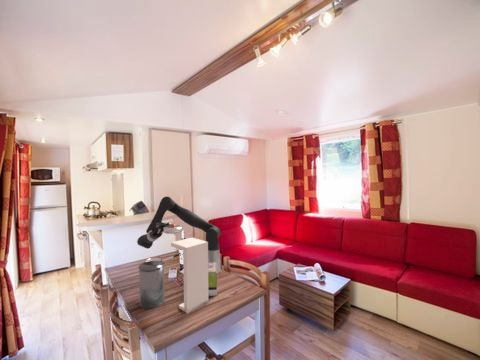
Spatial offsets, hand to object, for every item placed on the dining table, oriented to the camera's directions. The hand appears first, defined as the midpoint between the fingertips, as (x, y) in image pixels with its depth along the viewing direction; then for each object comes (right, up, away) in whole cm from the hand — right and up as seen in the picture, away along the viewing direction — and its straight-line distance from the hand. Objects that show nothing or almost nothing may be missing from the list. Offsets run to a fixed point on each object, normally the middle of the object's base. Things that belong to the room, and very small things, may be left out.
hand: (165, 224), depth 143 cm
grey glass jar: (-2, -41, -15) cm, 44 cm away
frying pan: (-15, -41, +45) cm, 63 cm away
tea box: (+28, -41, -2) cm, 49 cm away
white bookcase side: (+20, -40, -17) cm, 48 cm away
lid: (+2, -3, -1) cm, 4 cm away
